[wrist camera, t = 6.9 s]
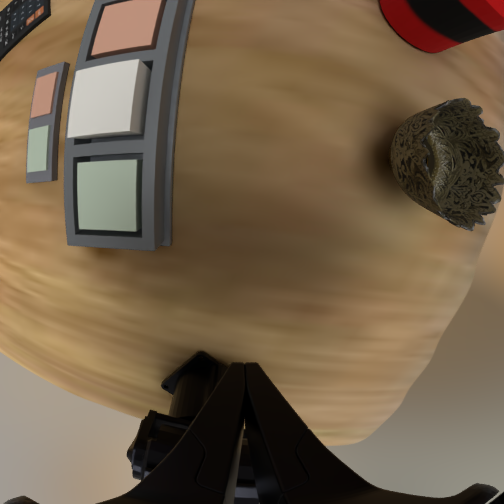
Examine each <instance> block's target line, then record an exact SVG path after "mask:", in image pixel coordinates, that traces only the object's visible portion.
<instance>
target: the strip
mask: <svg viewBox="0 0 504 504" xmlns="http://www.w3.org/2000/svg"><path fill="white" fill-rule="evenodd" d="M68 69H69V63H66V62H62V63H59V64H56V65H53V66H50V67H47V68H44V69H41V70H39V71H38V73H37V77H36V82H35V87H34V92H33V98H32V105H31V112H30V120H29V129H28V142H27V163H26V183H34V182H45V181H54V180H57V159H58V140H59V127H60V118H61V109H62V102H63V95H64V89H65V84H66V78H67V73H68Z"/></svg>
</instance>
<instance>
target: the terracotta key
mask: <svg viewBox="0 0 504 504" xmlns="http://www.w3.org/2000/svg"><path fill="white" fill-rule="evenodd" d="M165 6H166V1H165V0H131V1H126V2H122V3H117V4H113V5H109V6H106V7H105V8H104V11H103V14H102V18H101V21H100V24H99V27H98V31H97V34H96V38H95V42H94V46H93V50H92V54H91V56H93V57H94V58H96V59H99V58H103V57H108V56H113V55H119V54H124V53H131V52H138V51H145V50H154V49H156V45H157V40H158V35H159V31H160V26H161V22H162V18H163V14H164V10H165Z"/></svg>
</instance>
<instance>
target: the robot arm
mask: <svg viewBox="0 0 504 504" xmlns="http://www.w3.org/2000/svg"><path fill="white" fill-rule="evenodd" d="M200 357H203V358H200ZM166 385H167V386H166ZM161 387H162V388H163V389H164V390H166V391H167V392H169V393H171V394H172V395H173V398H172V402H171V407H170V411H169V416H168V415H164V414H160V413H157V411H153V410H150V411H149V414H148V416H145V419H143V420H142V421H141V424H140V428H139V430H138V433H137V436H136V438H135V439H134V441H133V442H132V444H131V446H130V447H129V449H128V451H127V457H128V459H129V460H130V462H131V463H132V469H133V478H135V479H139V480H141V482H140V483H139V484H138V485H137V486H135V487H134V488H133V489H132V490H130V491H129V492H127V493H125V494H123V495H121V496H119V497H116V498H113V499H110V500H107V501H103V502H100V503H97V504H259V503H260V504H485V503H486V502H488V501H489V500H490V499H491V498H493V497H494V496H495V495H496V494H497V493H498V492H499V490H497V489H496V488H495V487H493V486H490V485H485V484H479V483H476V484H474V485H472V486H470V487H469V488H467V489H466V490H464V491H462V492H461V493H459V494H457V495H455V496H451V497H445V498H433V497H425V496H417V495H410V494H405V493H399V492H394V491H389V490H384V489H381V488H378V487H376V486H374V485H372V484H370V483H369V482H367V481H366V480H364V479H363V478H362V477H360V476H359V475H358V474H357V473H355V472H354V471H353V470H352V469H350V468H349V467H348V466H347V465H345V464H344V463H343V462H342V461H341V460H339V459H338V458H337V457H336V456H335V455H334V454H333V453H332V452H331V451H329V450H328V449H327V448H326V447H325V446H324V445H323V444H322V442H321V441H320V440H319V439H318V438H317V437H316V436H315V435H314V434H313V432H312V431H311V430H310V429H308V426H307V425H306V424H305V423H304V422H303V420H302V419H301V418H300V417H299V416H298V414H297V413H296V412H295V411H294V409H293V408H292V407H291V406H290V404H289V403H288V402H287V401H286V399H285V398H284V397H283V396H282V394H281V393H280V392H279V390H278V389H277V388H276V387H275V385H274V384H273V383H272V381H271V380H270V379H269V377H268V376H267V375H266V373H265V372H264V371H263V369H262V368H261V367H260V365H259V364H258V363H256V362H246V363H245V365H244V363H243V362H232V363H231V364H230V366H229V367H228V368H227V367H226V366H224V365H223V364H220V363H219V362H217V361H216V360H214V359H213V358H212V357H210V356H209V355H207V354H206V353H204V352H198V353H196V354H195V355H194V356H193V357H192V358H190V359H189V360H188V361H187V362H186V363H184V364H183V365H182V366H181V367H180V368H178V369H177V370H176V371H175V372H174V373H172V374H171V375H170V376H169V377H168V378H166V379H165V380H164V381H163V382H162V385H161ZM244 418H245V429H244ZM4 504H39V503H37V502H35V501H33V500H32V499H30V498H28V497H26V496H20V497H16V498H13V499H10V500H8V501H7V502H5V503H4ZM489 504H504V492H503V493H502V494H500V495H499V496H498V497H497V498H495V499H494V500H493V501H491V502H490V503H489Z"/></svg>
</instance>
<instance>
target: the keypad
mask: <svg viewBox="0 0 504 504" xmlns="http://www.w3.org/2000/svg"><path fill="white" fill-rule="evenodd" d="M126 1H131V0H95V2H94V4H93V7H92V10H91V13H90V16H89V19H88V22H87V25H86V28H85V31H84V35H83V38H82V42H81V46H80V50H79V54H78V58H77V62H76V67H75V71H74V76H73V82H72V87H71V93H70V100H69V107H68V115H67V125H66V136H65V152H64V206H65V222H66V234H67V244H68V245H71V246H85V247H100V248H115V249H130V250H146V251H155V250H156V249H157V248H158V247H159V246H170V245H171V244H172V187H173V165H174V149H175V135H176V123H177V113H178V103H179V94H180V86H181V78H182V71H183V64H184V57H185V51H186V45H187V39H188V33H189V28H190V23H191V18H192V13H193V8H194V4H195V0H165V1H166V6H165V10H164V14H163V18H162V22H161V26H160V31H159V35H158V40H157V45H156V49H154V50H145V51H138V52H131V53H124V54H119V55H113V56H108V57H103V58H99V59H96V58H94V57H93V56H91V54H92V50H93V46H94V42H95V38H96V34H97V31H98V27H99V24H100V21H101V18H102V14H103V11H104V8H105V7H106V6H109V5H113V4H117V3H122V2H126ZM135 59H140V60H141V61H142V62H143V63H144V64H145V65H146V66H147V67H148V68H149V69H150V70H151V77H150V84H149V91H148V99H147V107H146V117H145V128H144V135H128V136H114V137H103V138H93V139H77V138H67V134H68V123H69V114H70V106H71V99H72V92H73V86H74V81H75V75H76V71H78V70H82V69H87V68H91V67H95V66H100V65H105V64H110V63H116V62H122V61H128V60H135ZM112 160H143V167H142V228H140V229H139V230H138V231H115V230H91V229H79V219H78V196H77V167H78V163H83V162H96V161H112Z"/></svg>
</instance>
